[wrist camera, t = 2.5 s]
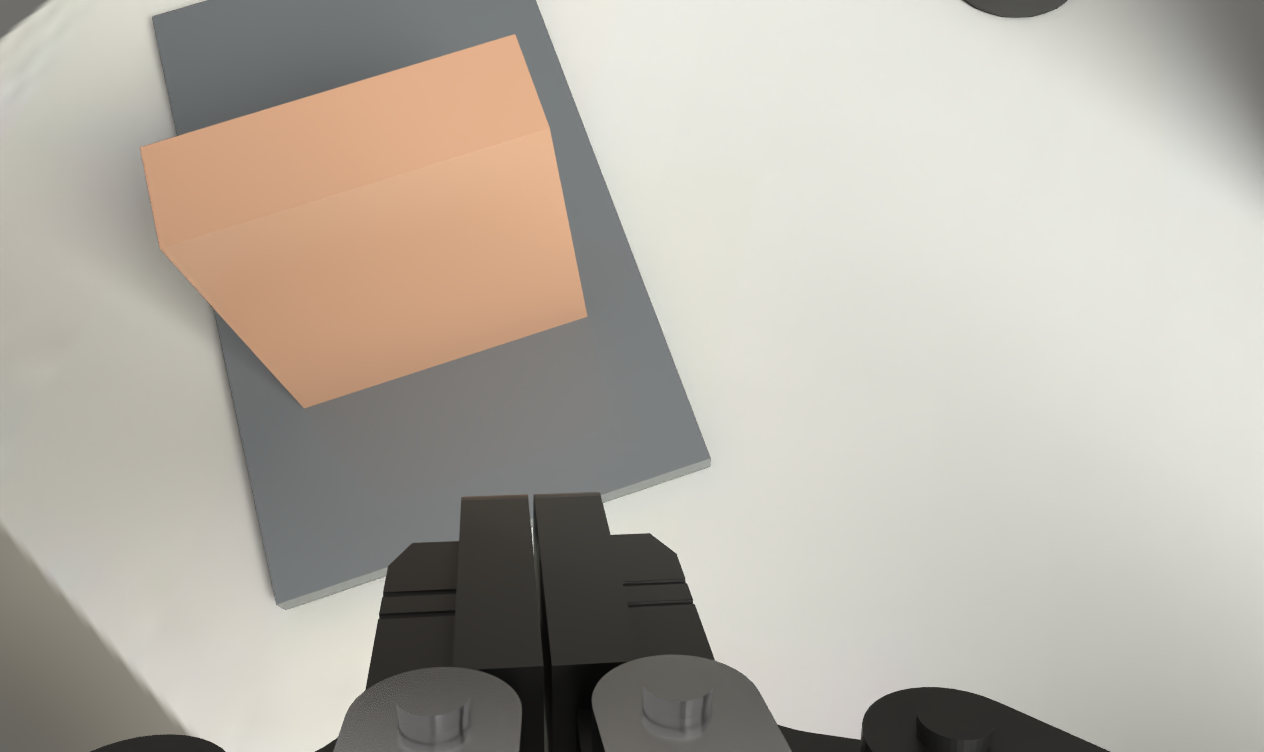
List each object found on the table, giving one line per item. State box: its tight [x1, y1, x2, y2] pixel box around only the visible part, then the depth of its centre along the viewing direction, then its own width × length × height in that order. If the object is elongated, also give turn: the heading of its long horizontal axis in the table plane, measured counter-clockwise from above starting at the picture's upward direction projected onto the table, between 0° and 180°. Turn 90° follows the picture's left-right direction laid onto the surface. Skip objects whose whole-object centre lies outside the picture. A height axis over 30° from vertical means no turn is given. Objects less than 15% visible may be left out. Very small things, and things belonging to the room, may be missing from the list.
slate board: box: [152, 0, 711, 610], centre depth 37 cm, size 22×13×1 cm, turn 18°
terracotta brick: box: [140, 34, 587, 408], centre depth 30 cm, size 3×9×10 cm, turn 108°
